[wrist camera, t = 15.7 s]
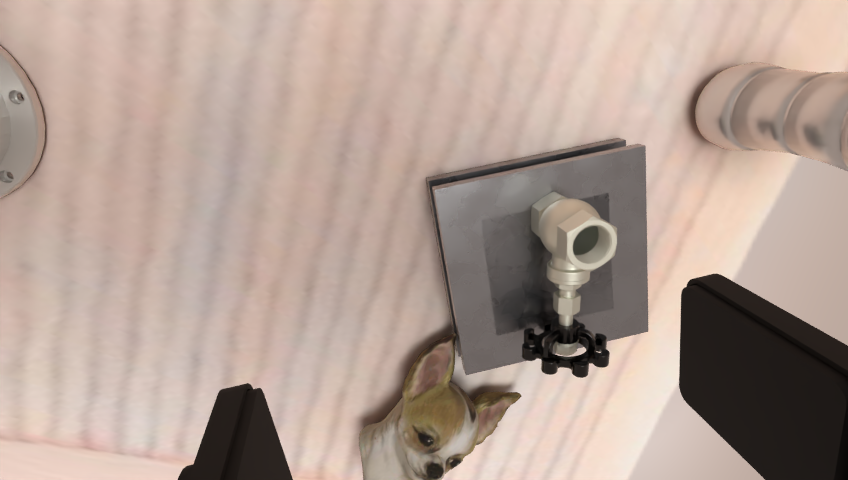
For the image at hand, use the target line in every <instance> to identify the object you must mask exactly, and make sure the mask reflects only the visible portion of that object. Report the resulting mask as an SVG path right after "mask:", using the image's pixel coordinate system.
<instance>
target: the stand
mask: <svg viewBox="0 0 848 480" xmlns="http://www.w3.org/2000/svg"><path fill="white" fill-rule="evenodd" d="M426 181H427V187H428V193H429V198H430V204H431V210H432V216H433V221H434V227H435V233H436V238H437V244H438V250H439V255H440V261H441V267H442V272H443V278H444V284H445V290H446V295H447V301H448V307H449V312H450V318H451V324H452V329H453V333H456V334H457V337H456V341H455V346H456V351H457V353H458V356H461V358H462V364H463V369H464V371H465V374H466V375H469V374H473V373H477V372H481V371H485V370H490V369H494V368H498V367H502V366H506V365H510V364H515V363H519V362H523V361H527V360H525V359H523V358H522V344H523V343H524V330H525V329H527V328H534V334H536V335H539V334H541V333H543V328H544V322H545V321H548V320H552V319H554V318H557V317H559V314H558V313H557V312H556V311H555V310H554V308H553V296H554V292H555V291H557V290H559V288H557V287H556V286H555V284H554V282H552V281H550V280H549V279H548V278H547V263H548V261H550V260H551V259H552V253H551V252H549V251H548V250H547V249H546V247H545V246H544V244H543V243H542V241H541V238H540V237H538V236H537V235H536V234H535V233H534V232H533V231H532V230H531V209H532V205H533V204H535V203H536V202H537V201H539V200H540V199H541V198H543V197H544V196H546V195H548V194H550V193H551V192H553V191H554V192H556V193H558V194H560V195H562V196H564V197H566V198H568V199H569V198H572V199H579V200H582V201H584V202H586V203H588V204H590V205H591V206H592V207H593V208H594V209H595V210H596V211H597V212H598V214H599V216H600V218H601V219H603V220H605V221H606V222H608V223H610V224H611V225H613V226H615V227H616V228H617V245H616V251H615V256H614V257H613V258H611V259H610V260H609V261H608V262H606V263H605V264H603V265H602V266H600V267H598V268H597V269H595V270H593V271H591V272H590V279H589V281H588V282H586V283H585V284H582V285H581V287H580V288H578V289H576V291H577V292H578V293H579V294H580V295H581V300H580V311H579V312H578V313H577V314H575V315H573V318H574V319H576V320H577V321H578V322H579V323H583V324H584V325H585V329H587V330H589V331H590V332H591V333H592V334H593V335H594V336H595V334H596V333H600V334H604V335H605V336H606V337H607V341H611V340H615V339H619V338H623V337H627V336H631V335H636V334H640V333H644V332H648V282H647V218H646V154H645V146H644V145H641V144H634V145H630V146H626V140H623V139H620V138H616V139H611V140H606V141H601V142H596V143H592V144H587V145H582V146H577V147H572V148H567V149H563V150H558V151H553V152H548V153H543V154H538V155H533V156H529V157H524V158H519V159H514V160H509V161H504V162H500V163H495V164H490V165H485V166H480V167H475V168H471V169H466V170H461V171H456V172H451V173H446V174H441V175H437V176H432V177H427V178H426ZM530 347H534V346H530ZM543 347H544V344H543ZM581 347H584V346H582V345H581V344H579V343H578V344H577V348H581ZM553 354H556V352H555V351H554V350H553Z"/></svg>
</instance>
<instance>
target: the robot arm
mask: <svg viewBox="0 0 848 480" xmlns="http://www.w3.org/2000/svg"><path fill="white" fill-rule="evenodd" d="M21 93H22V95H23V96H24V100H23V99H22V98H21ZM44 143H45V123H44V117H43V112H42V107H41V104H40V102H39V99H38V97H37V94H36V91H35V89H34V87H33V86H32V84H31V82H30V81H29V79H28V77H27V76H26V74H25V72H24V71H23V70H22V68H21V67H20V66H19V65H18V64H17V62H16V61H15V60H14V59H13V58H12V56H11V55H10V54H9V53H8V52H7V51H6V50H4V49H3V48H2V47H1V46H0V198H1V197H4V196H6V195H8V194H10V193H11V192H13V191H14V190H15V189H17V188H18V187H20V186H21V185H22V184H23V183H24V182H25V181H26V180H27V179H28V178H29V177H30V176H31V175H32V173H33V172H34V170H35V168H36V166H37V164H38V162H39V161H40V158H41V155H42V151H43V147H44ZM11 173H12V175H13V176H12V175H11ZM679 387H680V392H681V394H682V397H683V398H684V400H685V401H686V402H687V404H688V405H689V406H690V407H692V408H693V409H694V410H695V411H696V412H697V413H698V414H699V415H700V416H701V417H702V418H703V419H704V420H705V421H706V422H707V423H708V424H709V425H710V426H711V427H712V428H713V429H714V430H715V431H716V432H717V433H718V434H719V435H720V436H721V437H722V438H723V439H724V440H725V441H726V442H727V443H728V444H729V445H731V447H732V448H734V449H735V450H736V451H737V452H738V453H739V454H740V455H741V456H742V457H743V458H744V459H745V460H746V461H747V462H748V463H749V464H750V465H751V466H752V467H753V468H754V469H755V470H756V471H757V472H758V473H759V474H760V475H761V476H762V477H763V478H764V479H765V480H848V346H847V345H845V344H844V343H842V342H840V341H838V340H837V339H835V338H833V337H831V336H829V335H827V334H826V333H824V332H822V331H820V330H819V329H817V328H815V327H813V326H811V325H810V324H808V323H806V322H804V321H802V320H801V319H799V318H797V317H795V316H794V315H792V314H790V313H788V312H786V311H785V310H783V309H781V308H779V307H777V306H776V305H774V304H772V303H770V302H769V301H767V300H765V299H763V298H761V297H760V296H758V295H756V294H754V293H752V292H751V291H749V290H747V289H745V288H743V287H742V286H740V285H738V284H736V283H735V282H733V281H731V280H729V279H727V278H726V277H724V276H722V275H719V274H711V275H707V276H703V277H699V278H694V279H691V280H690V281H689V282H688V284H687V287H685V288H684V289H683V290H682V294H681V333H680V376H679ZM178 480H293V479H292V476H291V473H290V470H289V467H288V464H287V461H286V458H285V455H284V452H283V449H282V446H281V443H280V440H279V437H278V434H277V431H276V429H275V426H274V423H273V420H272V417H271V414H270V411H269V408H268V405H267V402H266V399H265V396H264V393H263V391H262V389H261V388H257V389H253V388H252V386H251V385H250V384H249V383H247V384H243V385H239V386H235V387H230V388H226V389H222V390H220V391H219V393H218V396H217V399H216V401H215V404H214V407H213V410H212V413H211V416H210V419H209V421H208V424H207V427H206V430H205V433H204V436H203V439H202V442H201V444H200V447H199V450H198V453H197V456H196V459H195V462H194V464H193V465H189V466H186V467H185V468H184V469H183V470H182V472H181V474H180V476H179V478H178Z"/></svg>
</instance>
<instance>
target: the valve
mask: <svg viewBox="0 0 848 480" xmlns="http://www.w3.org/2000/svg"><path fill="white" fill-rule="evenodd" d="M531 230H532V231H533V232H534V233H535V234H536V235H537V236H538V237H540V238H541V241H542V243H543V244H544V246H545V247H546V249H547V250H548V251H549V252H551V253H552V259H551V260H550V261H548V263H547V278H548V279H549V280H550V281H552V282H554V284H555V286H556V287H557V288H559V290H557V291H555V292H554V296H553V308H554V310H555V311H556V312H557V313H558V314H559V317H557V318H554V319H552V320H548V321H545V322H544V328H543V333H541V334H539V335H536V334H534V328H527V329H525V330H524V343H523V344H522V358H523V359H525V360H527V361H533V360H535V359H536V358H538V359H541V360H542V365H541V370H542V371H543V372H544V373H545V374H550V375H551V374H555V373H556V372H557V369H558V368H559V367H564V368H570V369H571V370H572V374H573V375H574V376H576V377H580V378H583V377H586V376H587V375H588V370H589V363H593V364H594V365H595V366H597V367H607V366H608V364H609V351H608V350H606V344H607V337H606V336H605V335H604V334H600V333H596V334H595V336H594V335H593V334H592V333H591V332H590V331H589V330H587V329H585V325H584V324H583V323H579V322H578V321H577V320H576V319H574V318H573V315H575V314H577V313H578V312H579V311H580V300H581V295H580V294H579V293H578V292H577V291H576V289H578V288H580V287H581V285H582V284H585V283H586V282H588V281H589V279H590V272H591V271H593V270H595V269H597V268H598V267H600V266H602V265H603V264H605V263H606V262H608V261H609V260H610V259H611V258H613V257H614V256H615V251H616V245H617V228H616V227H615V226H613V225H611V224H610V223H608V222H606V221H605V220H603V219H601V218H600V216H599V214H598V212H597V211H596V210H595V209H594V208H593V207H592V206H591V205H590V204H588V203H586V202H584V201H582V200H579V199H572V198H569V199H568V198H566V197H564V196H562V195H560V194H558V193H556V192H554V191H553V192H551V193H550V194H548V195H546V196H544V197H543V198H541V199H540V200H539V201H537V202H536V203H535V204H533V205H532V209H531ZM578 343H579V344H581V345H582V346H584V347H585V348H586V350H587V351H586V352H585V353H583V354H581V355H579V356H574V357H564V356H568V355H572V354H574V353H575V352H576V351H577V344H578ZM543 344H544V347H543ZM530 346H534V347H530ZM553 350H554V351H555V352H556V353H557V354H560V355H564V356H558V355H555V354H553ZM596 351H598V352H601V353H598V352H596Z"/></svg>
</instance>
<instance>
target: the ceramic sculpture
mask: <svg viewBox="0 0 848 480" xmlns="http://www.w3.org/2000/svg"><path fill="white" fill-rule="evenodd" d="M456 337H457V334H456V333H453V334H451V335H449V336H447V337H445V338H443V339H441V340H439V341H437V342H435V343H433V344H432V345H430V346H429V347H428V348H427V349H426V350H425V351H423V352H422V353H421V354H420V355H419V357H418V358H417V360H416V361H415V363H414V364H413V365H412V367H411V369H410V371H409V373H408V376H407V377H406V378H405V381H404V385H403V389H402V395H403V396H402V398H401V399H400V401H399V402H398V403H397V405H396V406H395V407H394V408H393V410H392V411H391V412H390V413H389V414H388V415H387V417H386V418H385V419H384V420H383V421H381V422H379V423H375V424H370V425H367V426H366V427H365V428H363V429H362V431H361V433H360V436H359V447H360V452H361V459H362V467H363V480H442V478H443V477H444V474H446V473H447V472H448V471H449V470H450V469H453V468H454V467H455V466H457V465H459V464H460V463H461V462H462V461H463V458H464V457H465V456H466V455H468V454H470V453H471V452H472V451H473V450H474V448H475V445H478V444H480V443H482V442H483V441H484V440H485V438H486V437H487V436H489V435H491V434H492V433H493V431H494V430H495V428H496V427H497V423H498V422H499V421H500V420H501V419H502V417H503V416H504V414H505V412H506V410H507V409H508V407H509V406H510V405H511V404H513V403H515V402H516V401H517V400H518V399H519V398H520V397H521V395H520V394H519V393H517V392H506V393H504V392H486V393H483V394H480V395H479V396H477V397H476V398H475V399H474V400H473V401H472V402H471V400H470V399H469V397H468V396H467V394H466V393H465V392H464V391H463V390H462V389H461V388H460V387H458V386H457V385H455V384H453V383H451V382H449V381H450V380H451V378H452V375H453V371H454V365H455V347H454V345H455V341H456Z"/></svg>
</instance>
